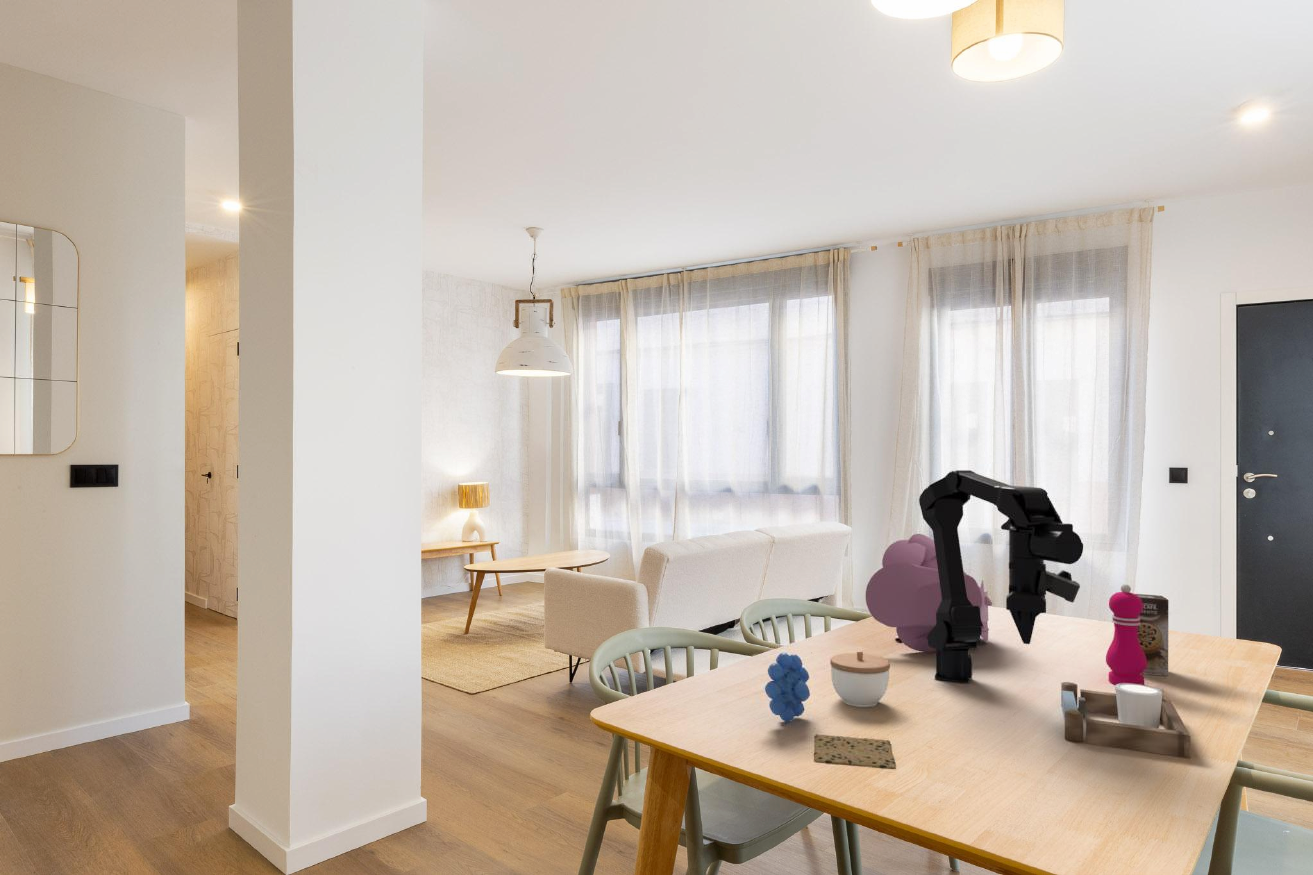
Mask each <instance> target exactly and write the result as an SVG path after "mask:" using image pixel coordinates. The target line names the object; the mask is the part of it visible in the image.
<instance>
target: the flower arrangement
mask: <svg viewBox="0 0 1313 875" xmlns="http://www.w3.org/2000/svg"><path fill="white" fill-rule="evenodd" d="M881 562H882V564H881V565H882V568H880V569H878V570H877V571H876V572H875V573H874V574H873V575H872V576H871V577H870V579H869V581H868V583H867V585H866V589H865V604H866V607H867V609H868V611H869V614H870V615H871V616H872V618H873V619H874V620H875V621H877V622H879V623H880V624H883V625H884V626H886V627H889V628H895V630H896V633H897V635H896V636H894V638H895V639H899V640H900V641H901V642H902V643H903V645H904V646H906V647H908V648H910V649H912V650H914V651H916V652H922V653H925V652H926V653H927V652H928V653H933V652H935V653H936V649H935V648H932V647H930V646H929V645H928V640H927V635H928V634H929V633H930V631H931V630H932V629H933V628H934V626H935V625H936V612H937V610H938V607H939V605H940V603H941V601H942V596H941V588H940V581H939V574H938V566H937V559H936V552H935V544H934V539H932V538H931V537H928V536H927V535H926V534H923V533H915V534H913V535H911V536H910V537H909V539H900V540H896V541H894V542H893V543H891V544H890V545H889V546H888V547H887V548H886V550H885V551H884V554H883V556H882V561H881ZM964 578H965V585H966V591H967V597H968V599H969V601H970V602H971V603H972V604H973V606H979V608H980V615H981V621H982V624H983V626H981V627H982V634H981V636H980V638H982V639H983V641H985V643H986V644H987V643H988V642H989V641H988V640H989V631H990V629H989V626H988V625H989V624H988V622H989V606H990V607H991V606H992V605H993V602H992V600H991V599H990V598H989V597H988V590H985V586H984V580H981V584H980V586H979V584H978V583H977V580H976V579H975V578H974V577H973V576H970V575H969V574H967V573H966V572H965V571H964Z"/></svg>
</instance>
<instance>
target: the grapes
mask: <svg viewBox="0 0 1313 875" xmlns="http://www.w3.org/2000/svg"><path fill="white" fill-rule="evenodd" d="M775 661H776V662H773V663H772V664H770V665H769V667H768V668H767V673H768V676H769V678H770V680H769V681H768V682H767V683H766V685H765V687H764V690H765V693H766V696H767V697H768V698H769V699H771V700H770V701H769V703H768V705H769V709H770V711H771V712H772V714H773V715H775V716H779V718H780V719H781V720H782V721H783V722H785V723H790V722H791V721H793V719H794V718H795V717H800V716H802V715H803V713H804V712H805V707H804V704H803V702H806V701H807V700H808V699H809V698H810V696H811V694H810V689H809V686H808V685H807V682H808V681H809V679H810V675H809V672H808V671H807V669H806V668H805V667H803V661H802V660H801V658H800V656H798V655H797V654H790V655H789V654H788V653H787V652H781V653H779V654H778V656H777V657H776V659H775Z"/></svg>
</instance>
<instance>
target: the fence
mask: <svg viewBox="0 0 1313 875" xmlns="http://www.w3.org/2000/svg"><path fill="white" fill-rule="evenodd" d="M1060 685H1061V686H1060V688H1061V689H1060V690H1061V696H1060V697H1061V701H1060V702H1061V705H1060V706H1061V707H1062V690H1063V691H1071V692H1073V693H1074V697H1075V701H1076V705H1077V709H1078V711H1077V710H1072V709H1070V710H1068V711H1065V720H1064V739H1065V740H1066V741H1067V742H1069V743H1070V742H1071V743H1078V744H1079V743H1083V742H1084V719H1085V736H1086V737H1085V740H1086V744H1091V745H1097V746H1104V747H1111V748H1112V747H1113V748H1118V749H1125V750H1131V751H1132V750H1133V751H1139V752H1144V753H1145V752H1146V753H1153V754H1160V755H1167V756H1172V757H1179V758H1180V757H1181V758H1185V759H1186V758H1188V759H1191V758H1192V757H1191V756H1192V753H1191V750H1192V748H1191V741H1192V740H1191V734H1190V732H1189V731H1188V729H1187V726H1186V725H1185V723H1184V722H1183V720H1182V718H1181V716H1180V714H1179V712H1178V711H1177V709H1176V707H1175V706H1174V703H1173V701H1172V700H1171V699H1166V698H1164V699H1163V698H1162V703H1161V713H1160V722H1161V723H1162V726H1163V728H1160V727H1159V728H1152V727H1144V726H1137V725H1129V724H1122V723H1119V722H1113V721H1108V720H1107V721H1105V720H1098V719H1090V718H1086V712H1088V711H1089V712H1090V713H1096V714H1105V715H1110V716H1111V715H1112V716H1118V708H1117V699H1116V692H1105V691H1097V690H1091V689H1090V690H1089V689H1088V690H1087V689H1080V696H1078V684H1077V683H1075V682H1070V681H1063V682H1061V683H1060Z"/></svg>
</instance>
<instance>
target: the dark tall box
mask: <svg viewBox="0 0 1313 875" xmlns="http://www.w3.org/2000/svg"><path fill="white" fill-rule="evenodd" d="M1118 592H1119V591H1118ZM1118 592H1115V593H1118ZM1134 594H1135V595H1137V596H1138V597H1139V598H1140V599H1141V600H1142V603H1143V611H1142V612H1141V613H1140V614H1139V616H1138V617H1139V618H1140V620H1139V621H1140V625H1138V631H1137V632H1138V640H1139V643H1140V645H1141V648H1142V650H1143V652H1144V654H1145V656H1146V660H1147V668H1146V670H1145V671H1144V672H1142V673H1141V674H1145V675H1154V676H1165V677H1168V676H1169V599H1167V598H1166V597H1164V596H1163V595H1156V594H1142V593H1134Z"/></svg>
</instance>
